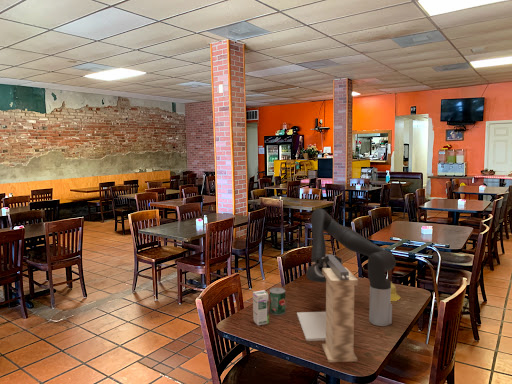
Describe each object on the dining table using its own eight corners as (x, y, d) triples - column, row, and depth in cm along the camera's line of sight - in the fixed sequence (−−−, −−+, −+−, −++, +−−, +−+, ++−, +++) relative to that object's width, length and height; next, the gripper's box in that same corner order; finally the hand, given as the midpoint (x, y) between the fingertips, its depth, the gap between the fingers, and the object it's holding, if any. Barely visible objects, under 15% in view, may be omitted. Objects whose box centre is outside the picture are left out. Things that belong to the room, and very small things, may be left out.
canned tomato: (286, 314, 183) (286, 293, 182) (270, 315, 183) (269, 293, 182) (284, 308, 191) (284, 287, 190) (269, 308, 191) (269, 287, 190)
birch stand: (346, 341, 157) (347, 267, 153) (358, 361, 142) (359, 279, 138) (320, 342, 156) (320, 268, 153) (329, 363, 141) (329, 280, 138)
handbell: (397, 304, 194) (398, 257, 192) (373, 298, 202) (374, 253, 199) (404, 296, 204) (405, 251, 202) (381, 291, 212) (382, 248, 209)
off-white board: (333, 313, 184) (333, 311, 184) (348, 339, 159) (348, 337, 159) (296, 314, 184) (296, 312, 184) (306, 341, 158) (306, 338, 158)
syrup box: (257, 326, 172) (257, 295, 170) (253, 320, 178) (252, 291, 176) (269, 323, 174) (268, 293, 173) (264, 318, 180) (263, 289, 178)
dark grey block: (332, 261, 162) (332, 254, 162) (350, 281, 136) (350, 273, 136) (325, 261, 162) (325, 254, 161) (341, 281, 136) (342, 273, 136)
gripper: (307, 259, 173) (314, 249, 157) (337, 258, 174) (347, 248, 158) (309, 275, 170) (316, 267, 154) (340, 274, 171) (350, 266, 155)
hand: (332, 258), depth 156 cm, fingers closed on dark grey block, 3 cm apart
